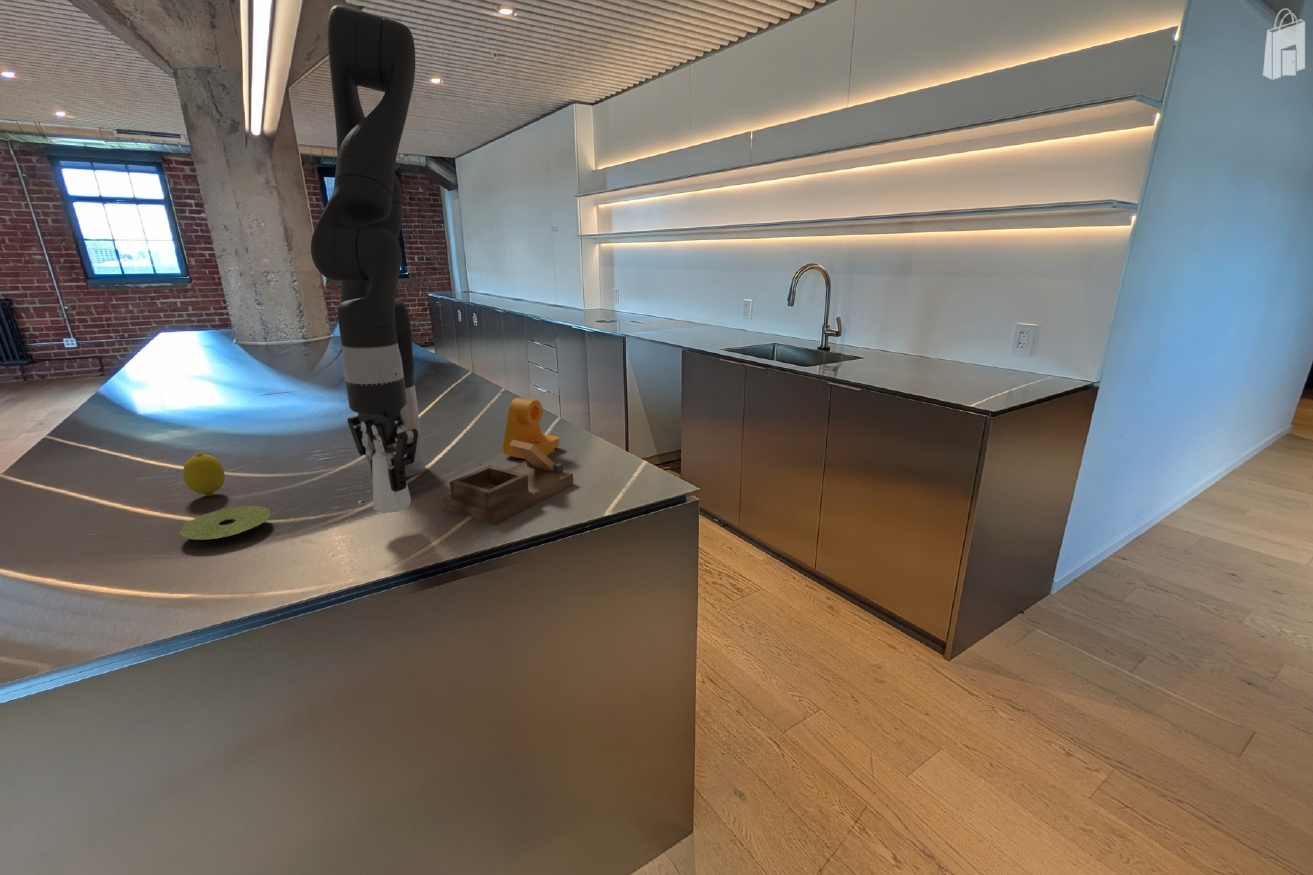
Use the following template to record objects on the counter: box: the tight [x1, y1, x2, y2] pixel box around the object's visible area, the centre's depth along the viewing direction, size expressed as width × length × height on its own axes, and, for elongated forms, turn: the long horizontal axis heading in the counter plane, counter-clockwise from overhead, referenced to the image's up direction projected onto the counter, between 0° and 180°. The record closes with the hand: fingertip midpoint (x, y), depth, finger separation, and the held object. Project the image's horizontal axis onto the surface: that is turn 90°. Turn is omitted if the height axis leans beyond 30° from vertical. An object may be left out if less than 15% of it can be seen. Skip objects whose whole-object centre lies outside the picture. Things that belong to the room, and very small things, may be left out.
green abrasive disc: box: [179, 505, 272, 541], centre depth 86 cm, size 11×11×2 cm
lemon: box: [182, 452, 225, 497], centre depth 98 cm, size 6×6×8 cm
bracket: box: [502, 397, 560, 460], centre depth 120 cm, size 11×7×12 cm, turn 155°
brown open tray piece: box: [442, 460, 574, 526], centre depth 100 cm, size 12×20×5 cm, turn 150°
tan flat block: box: [510, 440, 557, 471], centre depth 104 cm, size 5×9×1 cm
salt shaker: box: [371, 440, 412, 514], centre depth 84 cm, size 5×5×11 cm
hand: (389, 485), depth 85 cm, fingers closed on salt shaker, 3 cm apart
